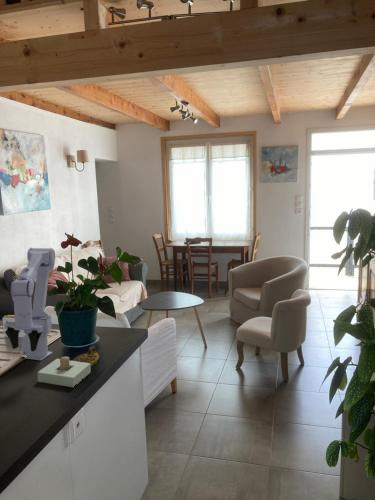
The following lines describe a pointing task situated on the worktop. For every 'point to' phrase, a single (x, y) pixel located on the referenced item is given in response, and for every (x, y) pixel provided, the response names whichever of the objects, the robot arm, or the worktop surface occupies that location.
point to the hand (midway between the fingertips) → (24, 349)
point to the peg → (64, 364)
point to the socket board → (64, 373)
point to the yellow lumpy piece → (88, 356)
